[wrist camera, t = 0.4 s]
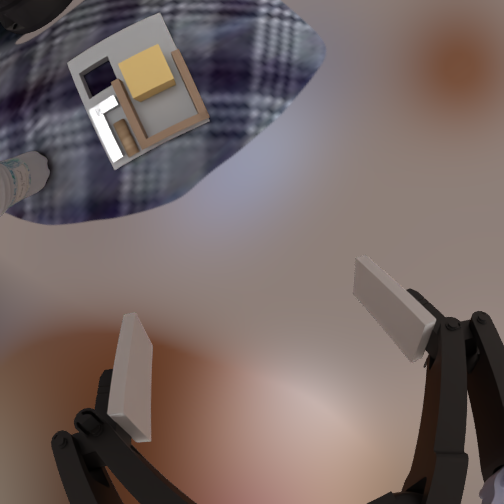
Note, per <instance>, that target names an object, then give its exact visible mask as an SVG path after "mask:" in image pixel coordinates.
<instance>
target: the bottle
mask: <svg viewBox="0 0 504 504" xmlns="http://www.w3.org/2000/svg"><path fill="white" fill-rule="evenodd" d="M47 162H48V160H47V158H46V157H44V156H42V155H41V154H39V153H38V152H36V151H32V152H27V153H24V154H21V155H19V156H17V157H14V158H11V159H8V160H4V161H1V162H0V216H2V215H3V214H4V213H5V211H6V210H7V209H8V208H9V207H11V206H12V205H14V204H16V203H17V202H19V201H21V200H22V199H24V198H26V197H29V196H31V195H33V194H35V193H37V192H38V191H40V190H41V189H42V188H43V187H44V186H45V184H46V181H47V178H48V177H49V175H50V170H49V169H48V166H47Z"/></svg>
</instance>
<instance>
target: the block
mask: <svg viewBox="0 0 504 504" xmlns="http://www.w3.org/2000/svg"><path fill="white" fill-rule="evenodd" d="M118 65H119V68H120V70H121V72H122V75H123V77H124V79H125V81H126V84H127V86H128V88H129V90H130V93H131V95H132V97H133V99H135V100H137V101H139V102H142V101H144V100H146V99H148V98H150V97H152V96H154V95H156V94H158V93H160V92H162V91H164V90H166V89H168V88H170V87H172V86H174V85H176V83H175V80H174V77H173V75H172V73H171V70H170V68H169V66H168V64H167V62H166V60H165V57H164V55H163V53H162V51H161V49H160V46H159V44H157V45H154V46H152V47H150V48H148V49H146V50H144V51H142V52H140V53H138V54H136V55H134V56H132V57H130V58H128V59H126V60H124V61H122V62H120V63H119V64H118Z"/></svg>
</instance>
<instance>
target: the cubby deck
mask: <svg viewBox="0 0 504 504" xmlns="http://www.w3.org/2000/svg"><path fill="white" fill-rule="evenodd" d="M157 44H159V46H160V49H161V51H162V53H163V55H164V57H165V60H166V62H167V64H168V66H169V68H170V70H171V73H172V75H173V77H174V80H175V83H176V85H174V86H172V87H170V88H168V89H166V90H164V91H162V92H160V93H158V94H156V95H154V96H152V97H150V98H148V99H146V100H144V101H142V102H139V101H137V100H135V99H133V97H132V95H131V93H130V90H129V88H128V86H127V84H126V81H125V79H124V77H123V75H122V72H121V70H120V68H119V65H118V64H119V63H120V62H122V61H124V60H126V59H128V58H130V57H132V56H134V55H136V54H138V53H140V52H142V51H144V50H146V49H148V48H150V47H152V46H154V45H157ZM108 60H109V61H110V63H111V66H112V68H113V70H114V73H115V75H116V77H117V79H116V80H114V81H112V82H111V84H112V86H110V87H108V88H107V89H105V90H103V91H102V92H100V93H98V94H97V95H95V96H94V97H92V95H91V92H90V90H89V88H88V85H87V83H86V81H85V78H84V75H85V74H87V73H89V72H90V71H92V70H93V69H95V68H97V67H98V66H100V65H102V64H103V63H105V62H107V61H108ZM67 64H68V67H69V70H70V72H71V75H72V77H73V80H74V82H75V85H76V87H77V90H78V92H79V95H80V97H81V99H82V102H83V104H84V106H85V109H86V111H87V113H88V115H89V118H90V120H91V122H92V124H93V127H94V129H95V131H96V133H97V135H98V137H99V139H100V141H101V144H102V146H103V148H104V150H105V152H106V154H107V156H108V158H109V160H110V162H111V164H112V166H113V168H114V170H116V169H118V168H119V167H121V166H123V165H124V164H126V163H128V162H130V161H131V160H133V159H135V158H137V157H138V156H140V155H142V154H144V153H146V152H148V151H149V150H151V149H153V148H155V147H157V146H159V145H161V144H163V143H165V142H167V141H169V140H171V139H173V138H175V137H177V136H179V135H181V134H183V133H185V132H187V131H189V130H191V129H194V128H196V127H198V126H200V125H202V124H205V123H207V122H209V121H210V120H209V114H208V112H207V110H206V108H205V106H204V103H203V101H202V99H201V97H200V94H199V92H198V90H197V88H196V86H195V83H194V81H193V79H192V77H191V75H190V72H189V70H188V68H187V66H186V64H185V62H184V59H183V57H182V55H181V53H180V51H179V49H177V48H176V46H175V44H174V42H173V39H172V37H171V35H170V33H169V31H168V29H167V27H166V24H165V22H164V20H163V18H162V16H161V14H160V13H157V14H155V15H153V16H150V17H148V18H146V19H144V20H141V21H139V22H137V23H135V24H133V25H131V26H129V27H127V28H125V29H123V30H121V31H119V32H117V33H115V34H113V35H112V36H110V37H108V38H106V39H104V40H103V41H101V42H99V43H97V44H96V45H94V46H92V47H91V48H89V49H88V50H86V51H84V52H83V53H81V54H80V55H78V56H77V57H75V58H74V59H72V60H71V61H69V62H68V63H67ZM113 95H115V96H117V98H118V101H119V103H120V106H119V107H117V108H115V109H114V110H112V111H110V112H109V113H107V114H106V115H107V118H108V120H109V122H110V124H111V126H112V128H113V130H114V133H115V135H116V137H117V139H118V141H119V143H120V145H121V147H122V149H123V151H124V153H125V156H124V157H122V158H120V159H119V160H117V161H115V162H113V161H112V159H111V157H110V155H109V153H108V151H107V149H106V147H105V145H104V143H103V140H102V138H101V136H100V134H99V132H98V130H97V128H96V126H95V123H94V121H93V119H92V117H91V114H90V112H89V110H90V109H92V108H93V107H95V106H96V105H98V104H99V103H101V102H103V101H104V100H106V99H108V98H109V97H111V96H113ZM121 119H124V120H125V122H126V124H127V126H128V128H129V130H130V133H131V135H132V137H133V139H134V141H135V143H136V145H137V147H138V149H139V151H140V152H138V153H136V154H135V155H133V156H131V157H128V155H127V153H126V151H125V149H124V147H123V145H122V143H121V141H120V139H119V137H118V134H117V132H116V130H115V128H114V126H113V124H114V123H116V122H117V121H119V120H121Z"/></svg>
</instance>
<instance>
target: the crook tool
mask: <svg viewBox="0 0 504 504" xmlns="http://www.w3.org/2000/svg"><path fill="white" fill-rule="evenodd" d="M119 106H120V103H119V101H118V98H117V96H115V95H113V96H111V97H109V98H108V99H106V100H104V101H103V102H101V103H99V104H98V105H96V106H95V107H93V108H92V109H90V110H89V112H90V114H91V117H92V119H93V121H94V123H95V126H96V128H97V130H98V132H99V134H100V136H101V138H102V140H103V143H104V145H105V147H106V149H107V151H108V153H109V155H110V157H111V159H112V161H113V162H115V161H117V160H119V159H120V158H122V157H124V156H125V153H124V151H123V149H122V147H121V145H120V143H119V141H118V139H117V137H116V135H115V133H114V130H113V128H112V126H111V124H110V122H109V120H108V118H107V115H106V114H107V113H109V112H110V111H112V110H114V109H115V108H117V107H119Z"/></svg>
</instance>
